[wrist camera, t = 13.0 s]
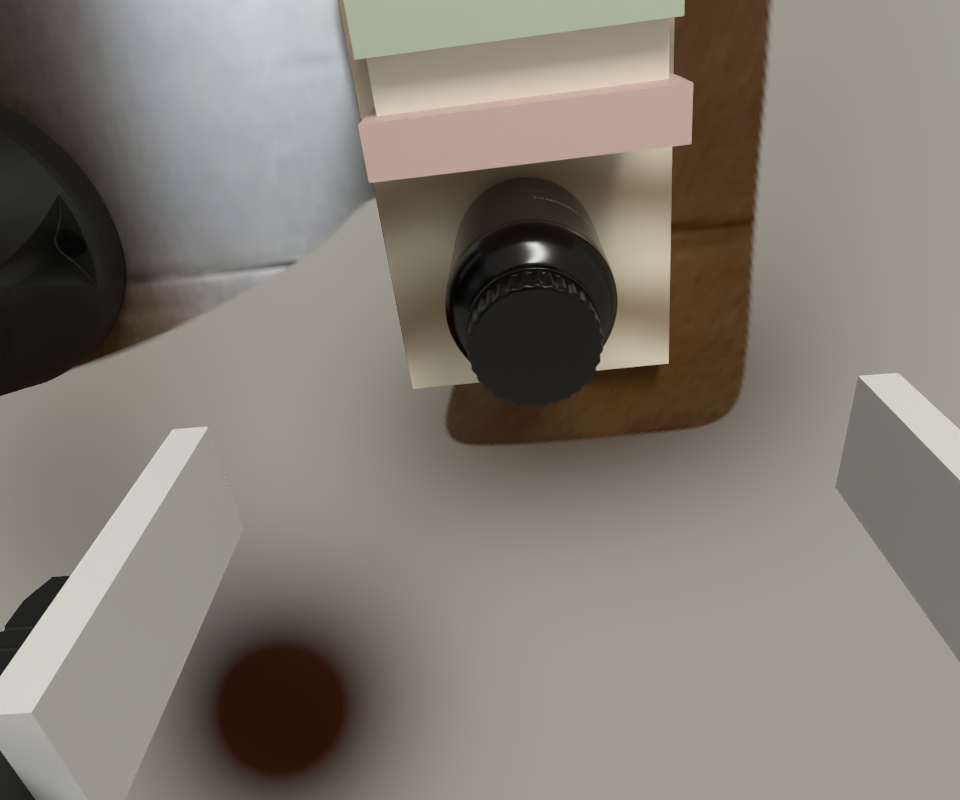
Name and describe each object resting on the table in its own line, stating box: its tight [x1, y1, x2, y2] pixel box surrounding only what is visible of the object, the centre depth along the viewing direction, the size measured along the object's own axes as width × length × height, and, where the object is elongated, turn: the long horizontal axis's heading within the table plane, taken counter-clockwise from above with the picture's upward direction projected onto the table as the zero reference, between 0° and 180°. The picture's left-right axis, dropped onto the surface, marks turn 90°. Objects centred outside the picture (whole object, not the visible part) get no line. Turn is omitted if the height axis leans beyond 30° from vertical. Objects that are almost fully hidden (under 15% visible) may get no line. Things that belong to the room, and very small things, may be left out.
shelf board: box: [338, 0, 674, 389], centre depth 34 cm, size 20×14×2 cm
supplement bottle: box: [445, 177, 618, 407], centre depth 30 cm, size 7×7×12 cm
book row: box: [343, 0, 693, 183], centre depth 26 cm, size 5×10×10 cm, turn 97°
